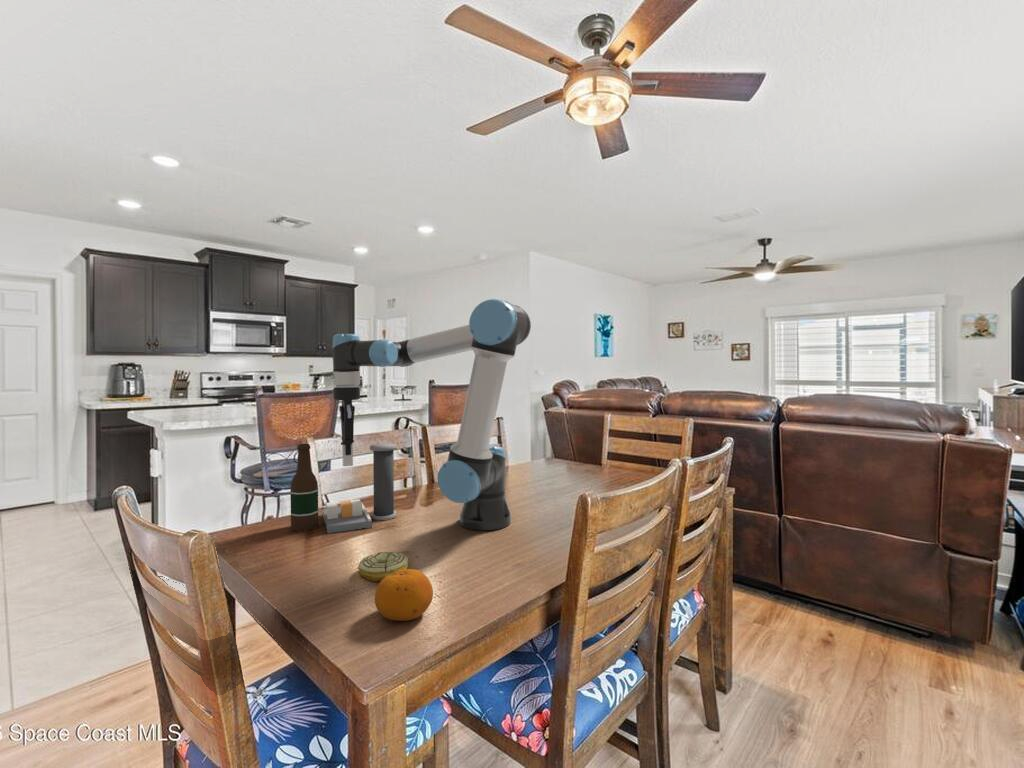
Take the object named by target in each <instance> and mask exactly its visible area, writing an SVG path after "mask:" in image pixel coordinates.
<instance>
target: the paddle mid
mask: <svg viewBox="0 0 1024 768" xmlns="http://www.w3.org/2000/svg"><path fill="white" fill-rule="evenodd" d="M350 500H351V499H350ZM350 500H342V501H341V500H340V506H339V507H340V513H341V515H342V518H343V517H351V516H352V503H351V501H350Z"/></svg>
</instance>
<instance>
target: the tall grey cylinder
mask: <svg viewBox="0 0 1024 768" xmlns="http://www.w3.org/2000/svg"><path fill="white" fill-rule="evenodd" d="M397 448H398V444H397V443H396V444H395V443H375V444H371V445H369V450H370V451H372V452H373V453H372V454H373V468H372V469H373V472H372V473H373V511H371V512H370V514H369V516H370V518H371V520H372V519H373V520H372V521H378V522H379V521H381V520H383V521H389V519H390V520H393V519H392V518H394V519H395V517H396V516H397V517H398V512H397V511H396V510H395V503H394V501H395V500H394V498H395V495H394V493H395V491H394V490H395V485H394V484H395V481H394V479H395V478H394V476H395V475H394V474H395V473H394V472H395V471H394V467H395V466H394V464H395V463H394V461H395V460H394V457H395V456H394V452H395V451H396V450H397ZM397 517H396V518H397ZM381 522H382V521H381Z"/></svg>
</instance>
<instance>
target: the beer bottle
mask: <svg viewBox="0 0 1024 768" xmlns="http://www.w3.org/2000/svg"><path fill="white" fill-rule="evenodd" d="M311 448H312V447H311V444H310V443H299V444H297V447H296V449H297V464H296V465H297V467H296V471H295V474H294V475H293V477H292V479H291V482H290V489H289V491H290V527H291V531H292V530H294V531H293V532H298V531H302V532H306V531H305V530H310V531H312V530H311V529H313V530H315V529H317V528H318V527H319V485H318V480H317V478H316V476H315V474H314V472H313V471H312V466H311V452H310V449H311ZM316 527H317V528H316ZM314 528H315V529H314Z"/></svg>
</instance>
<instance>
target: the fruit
mask: <svg viewBox="0 0 1024 768" xmlns="http://www.w3.org/2000/svg"><path fill="white" fill-rule="evenodd" d="M433 597H434V589H433V585H432V582H431V581H430V579H429V577H428V576H427V575H426V574H425V573H424V572H422V571H421V570H418V569H415V568H414V569H412V568H407V569H404V570H399V571H396V572H395V573H392V574H390V575H388V576H386V577H385V578H384V579H383V580H381V581H379V583H378V584H377V587H376V589H375V593H374V605H375V607H376V610H377V611H378V612H379V613H380V614H381V615H382V616H383V617H384V618H385V619H387V620H391V621H399V622H403V621H404V622H405V621H412V620H415V619H418V618H419V617H420V616H422V615H423V614H424V613H425V612H426V611H427V609H428V608H429V607H430V605H431V603H432V602H433Z"/></svg>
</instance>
